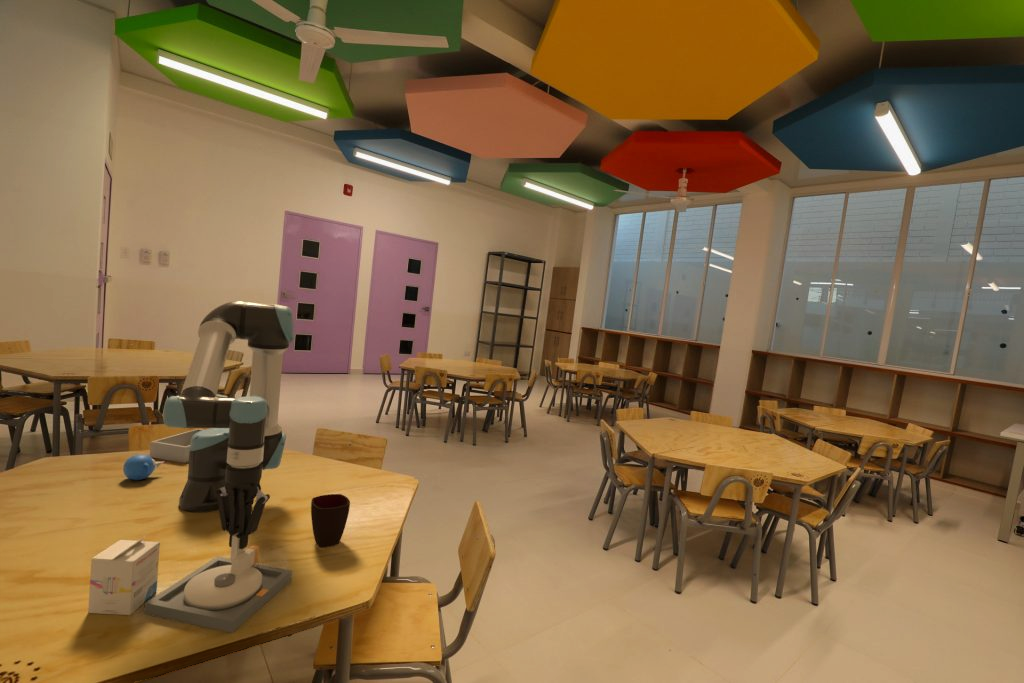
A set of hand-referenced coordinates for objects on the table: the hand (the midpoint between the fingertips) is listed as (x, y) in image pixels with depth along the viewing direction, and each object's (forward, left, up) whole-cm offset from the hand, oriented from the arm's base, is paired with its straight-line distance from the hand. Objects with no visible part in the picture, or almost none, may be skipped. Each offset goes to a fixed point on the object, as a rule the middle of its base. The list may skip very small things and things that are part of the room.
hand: (237, 560), depth 115 cm
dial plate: (+2, -7, -4) cm, 8 cm away
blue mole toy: (-68, +42, -5) cm, 80 cm away
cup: (+9, +24, -5) cm, 26 cm away
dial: (+2, -5, -3) cm, 7 cm away
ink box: (-15, -15, -5) cm, 21 cm away
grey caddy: (-76, +71, -4) cm, 104 cm away
